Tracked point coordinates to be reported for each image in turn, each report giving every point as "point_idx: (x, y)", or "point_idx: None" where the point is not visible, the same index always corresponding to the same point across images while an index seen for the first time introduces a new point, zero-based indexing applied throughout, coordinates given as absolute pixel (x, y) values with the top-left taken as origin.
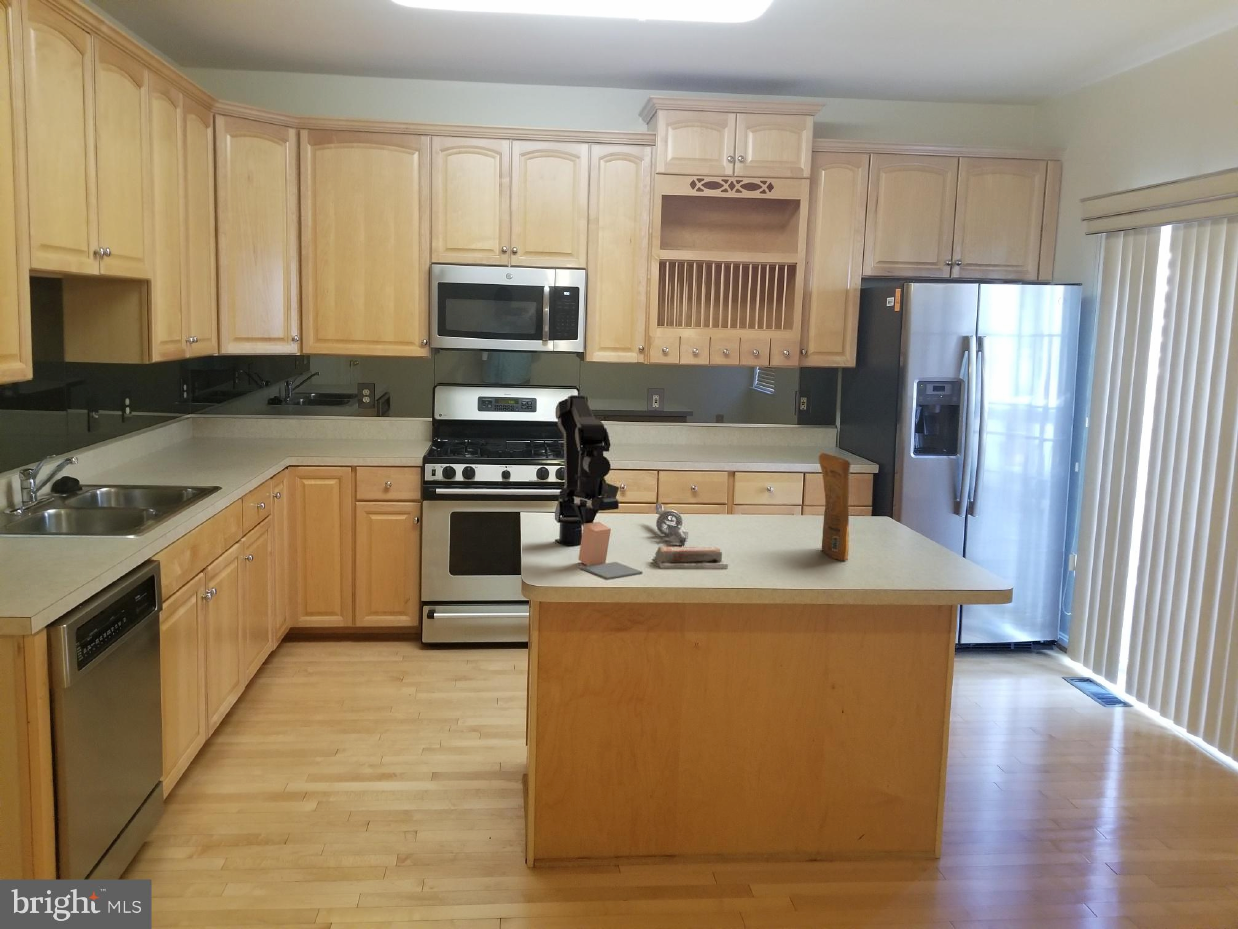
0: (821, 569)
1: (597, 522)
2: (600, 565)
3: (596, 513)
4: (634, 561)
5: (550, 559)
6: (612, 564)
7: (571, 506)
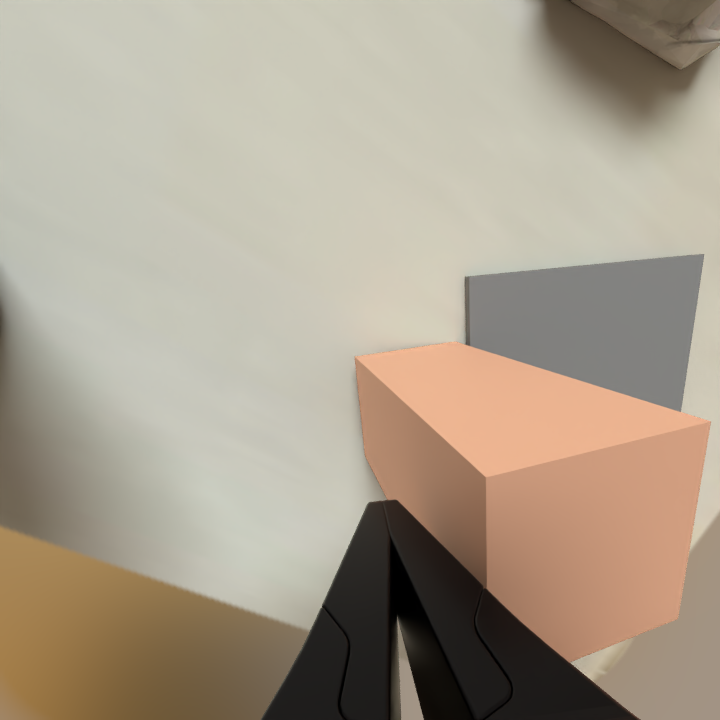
0: None
1: (501, 515)
2: None
3: (611, 708)
4: (474, 131)
5: (255, 535)
6: (508, 326)
7: None
